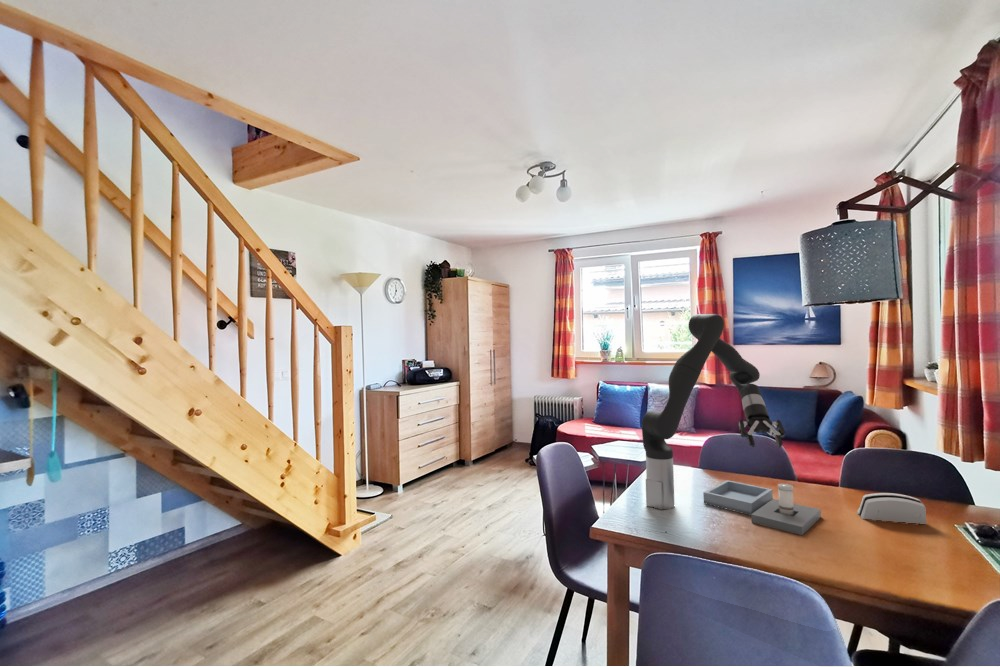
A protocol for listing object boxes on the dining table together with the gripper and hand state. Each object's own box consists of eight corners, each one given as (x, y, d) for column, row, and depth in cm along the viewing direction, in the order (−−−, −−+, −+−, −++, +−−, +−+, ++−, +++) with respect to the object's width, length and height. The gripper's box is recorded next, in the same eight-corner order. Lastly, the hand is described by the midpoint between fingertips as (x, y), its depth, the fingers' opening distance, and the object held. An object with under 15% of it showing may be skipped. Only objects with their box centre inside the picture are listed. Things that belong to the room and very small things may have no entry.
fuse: (791, 523, 144) (790, 488, 145) (777, 519, 148) (775, 485, 148) (796, 519, 147) (794, 485, 147) (781, 516, 150) (780, 482, 151)
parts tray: (751, 515, 151) (751, 503, 152) (703, 503, 163) (703, 492, 164) (772, 500, 165) (772, 489, 165) (727, 490, 177) (726, 480, 177)
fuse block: (802, 535, 136) (801, 526, 136) (751, 522, 146) (751, 514, 146) (820, 517, 149) (820, 509, 149) (773, 506, 159) (772, 499, 159)
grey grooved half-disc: (919, 519, 145) (923, 492, 142) (926, 529, 141) (931, 502, 138) (855, 513, 151) (858, 488, 148) (861, 523, 147) (864, 497, 144)
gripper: (736, 402, 172) (746, 440, 161) (777, 402, 169) (791, 440, 157) (732, 414, 177) (742, 451, 166) (773, 414, 174) (786, 452, 163)
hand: (766, 446), depth 162 cm, fingers open, 8 cm apart
